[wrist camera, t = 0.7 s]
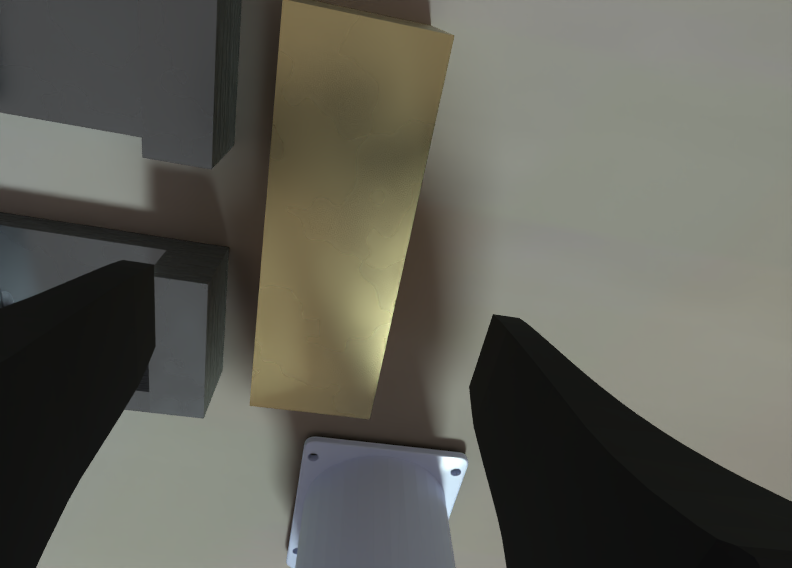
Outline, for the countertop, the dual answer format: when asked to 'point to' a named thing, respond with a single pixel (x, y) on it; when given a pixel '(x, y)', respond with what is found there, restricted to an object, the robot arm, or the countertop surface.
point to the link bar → (340, 200)
